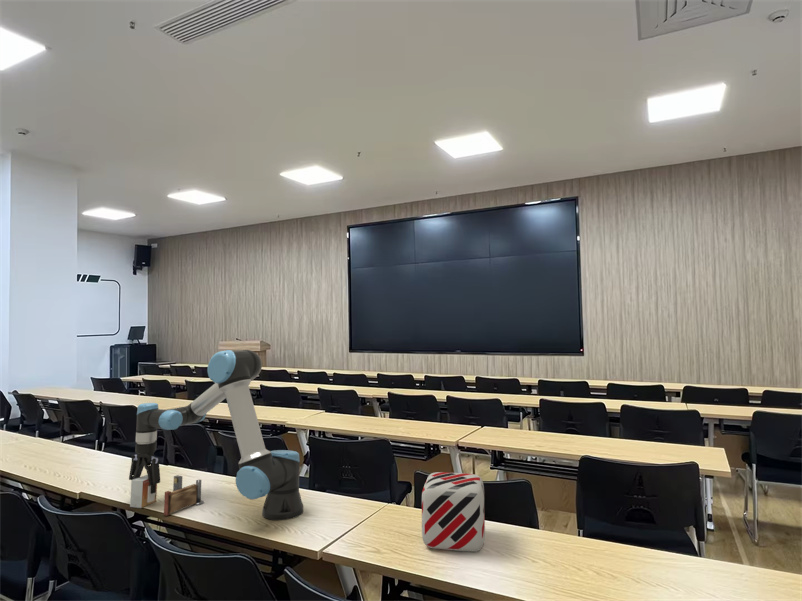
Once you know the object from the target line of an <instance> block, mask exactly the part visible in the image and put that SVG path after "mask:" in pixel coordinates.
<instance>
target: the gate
mask: <svg viewBox="0 0 802 601" xmlns="http://www.w3.org/2000/svg"><path fill="white" fill-rule="evenodd" d="M196 496H197V484H196V483H193V484H191V485H190V484H189V485H187V486H185V487H182V488H181V489H178V490H175V491H173V490H172V491H170V490H166V491H164V504H163V505H164V506H163V516H170V515H171V514H172V513H175V512H177V511H180V510H182V509H185V508H188V507H191V506H194V505H193V504H195V503H196Z"/></svg>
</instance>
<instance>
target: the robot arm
mask: <svg viewBox="0 0 802 601" xmlns="http://www.w3.org/2000/svg"><path fill="white" fill-rule="evenodd" d="M262 368H263V362H262V358H261V357H260V355H259V354H258V353H256V352H255V351H254V350H250V349H237V350H236V349H232V350H230V349H225V350H220V351H217V352H216V353H214V354H213V355H212V356H211V358H210V360H209V362H208V365H207V376H208V378H209V380H210V381H212V382H213V383H214V384H212V385H211V386H210V387H208V388H207V389H206V390H205V391H204V392H203V393H201V394H200V395H199V396H197V397H196V398H195V399H194V400H192V402H190V403H189V404H188V405H185V406H179V407H175V408H174V407H173V408H168V409H167V408H166V409H160V408H159V404H158V403H156V402H145V403H140V404H138V405H137V411H136V430H135V447H134V449H135V450H134V453H135V454H132V455H131V464H130V468H129V474H128V475H129V477H128V480H129V481H131V480H133V479H137V478H139V477H142V476H141V475H142V473H143V470H144V469H145V470H146V475H148V479H149V483H150V484H149V485H148V497H147V502H148V503H149V502H152V501H155V492H156V484H157V485H158V484H160V483H161V472H160V459H161V458H160V456H159V457H155V454H154V453H155V452H156V451H157V446H158V445H157V444H158V442H157V439H158V437H157V436H158V429H159V430H160V429H161V430H165V431H169V430H170V431H171V430H172V431H173V430H177V429H178V428H179V427H182V426H187V425H191V424H198V423H200V422H202V421H204V420H205V419H206V416H207V414H208V413H209V412H210V411H211V410H213V409H214V408H215V407H217V405H220V403H221V402H223V401H224V400H225V399H226V400H225V401H226V402H227V407H228V411H229V414H230V419H231V422H232V426H233V430H234V435H235V437H236V442H237V445H238V449H239V453H240V457H241V458H240V460H239V461H238V468H239V470H238V471H237V472H236V476H235V486H236V488H237V491H238V492H239V493H240V494H241V495H242V496H243V497H245V498H246V499H249V500H256V499H257V500H258V499H259V498H263V497H265V496H266V498H265V500H264V503H263V507H262V517H263V518H265V519H267V520H270V521H273V520H274V521H286V520H291V519H294V518H297V517H299V516H301V515H302V514H303V513H304V504H303V500H302V497H301V493H300V467H301V466H300V463H301V461H300V453H299V452H297V451H295V450H286V449H277V450H276V449H274V450H268V449H267V448H266V445H265V442H264V439H263V435H262V430H261V427H260V423H259V420H258V416H257V413H256V409H255V405H254V401H253V397H252V394H251V390H250V388H249V385H251V383H252V382H253V380H254V379H256V378H257V377H258V376H259V374H260V373H261V371H262ZM152 481H153V482H152Z"/></svg>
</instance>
